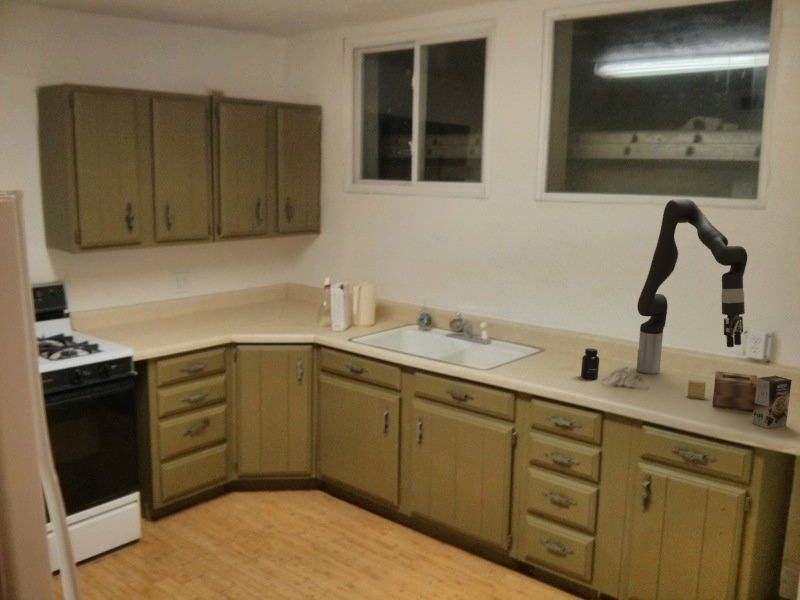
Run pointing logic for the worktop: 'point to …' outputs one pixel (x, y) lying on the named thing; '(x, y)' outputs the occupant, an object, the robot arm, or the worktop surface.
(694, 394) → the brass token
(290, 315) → the worktop surface
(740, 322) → the robot arm
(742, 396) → the box
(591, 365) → the supplement bottle
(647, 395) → the worktop surface
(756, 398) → the coffee box
